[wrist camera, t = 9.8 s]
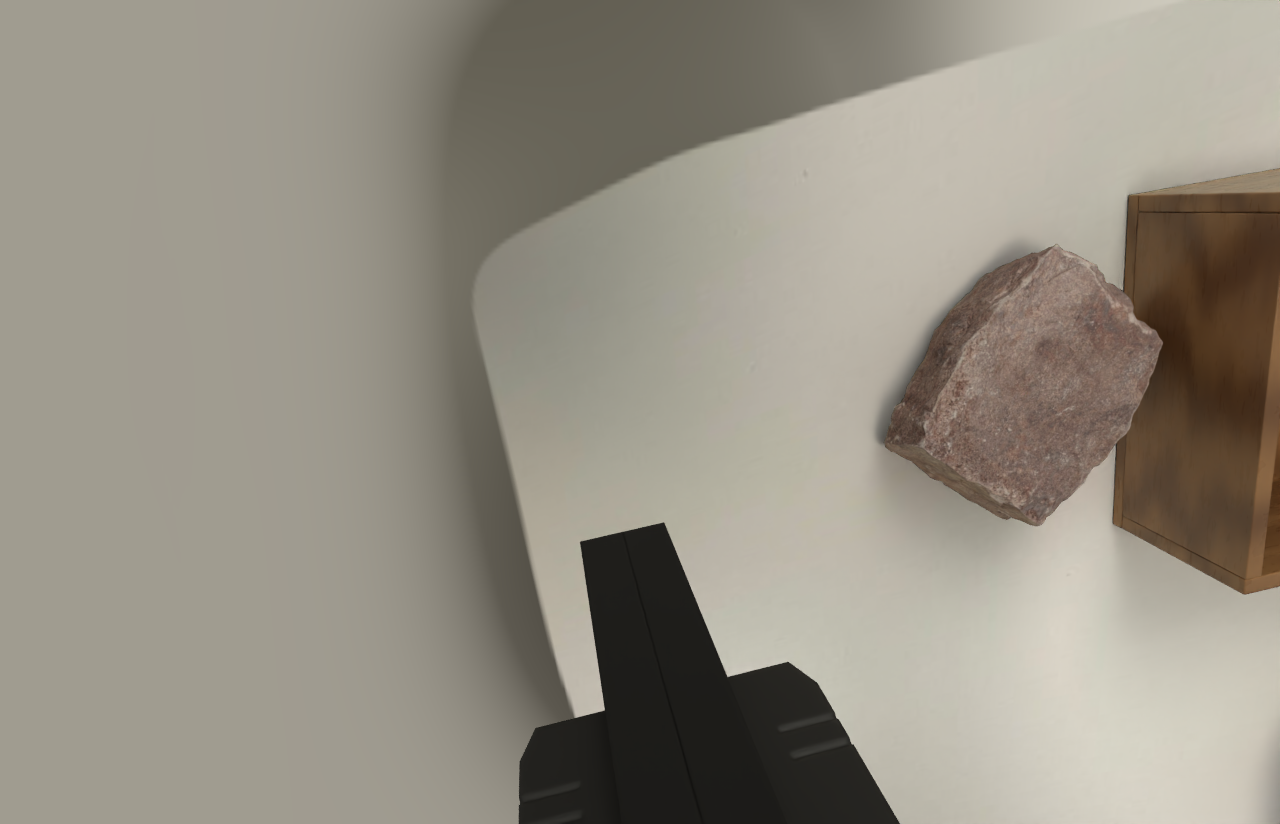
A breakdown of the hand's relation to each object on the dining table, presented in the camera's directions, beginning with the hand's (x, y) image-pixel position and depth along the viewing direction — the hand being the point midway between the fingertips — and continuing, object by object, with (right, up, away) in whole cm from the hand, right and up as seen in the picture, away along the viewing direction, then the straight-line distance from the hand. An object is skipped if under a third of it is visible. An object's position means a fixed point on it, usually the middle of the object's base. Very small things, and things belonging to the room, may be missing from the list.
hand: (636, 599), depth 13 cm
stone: (+18, +5, +23) cm, 30 cm away
